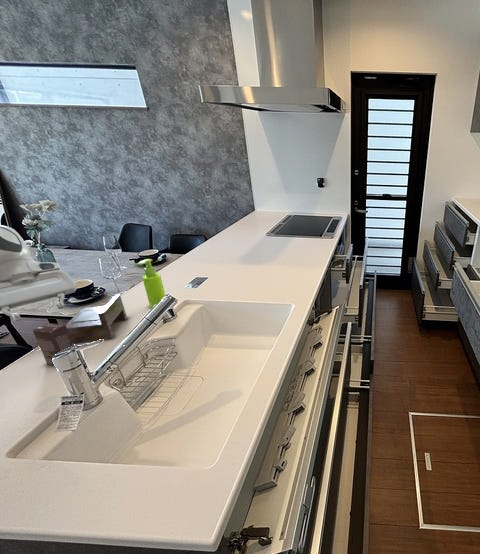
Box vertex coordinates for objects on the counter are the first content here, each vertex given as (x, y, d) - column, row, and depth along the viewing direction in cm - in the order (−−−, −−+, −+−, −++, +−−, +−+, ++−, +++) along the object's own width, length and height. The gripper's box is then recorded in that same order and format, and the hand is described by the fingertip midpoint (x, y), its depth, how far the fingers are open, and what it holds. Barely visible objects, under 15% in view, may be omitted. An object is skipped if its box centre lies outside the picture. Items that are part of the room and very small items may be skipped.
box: (79, 357, 94) (66, 324, 89) (65, 366, 90) (50, 332, 85) (61, 355, 94) (47, 322, 89) (46, 364, 90) (30, 330, 85)
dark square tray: (67, 344, 99) (56, 318, 95) (88, 322, 111) (79, 298, 107) (112, 338, 103) (103, 313, 99) (127, 318, 115) (120, 294, 111)
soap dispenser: (144, 308, 122) (131, 262, 114) (159, 300, 128) (147, 256, 120) (156, 310, 121) (144, 264, 113) (170, 303, 127) (160, 258, 119)
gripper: (-37, 281, 82) (-16, 324, 81) (64, 261, 98) (83, 297, 96) (-31, 290, 86) (-11, 332, 85) (65, 270, 102) (84, 305, 101)
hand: (40, 313), depth 91 cm, fingers open, 8 cm apart
